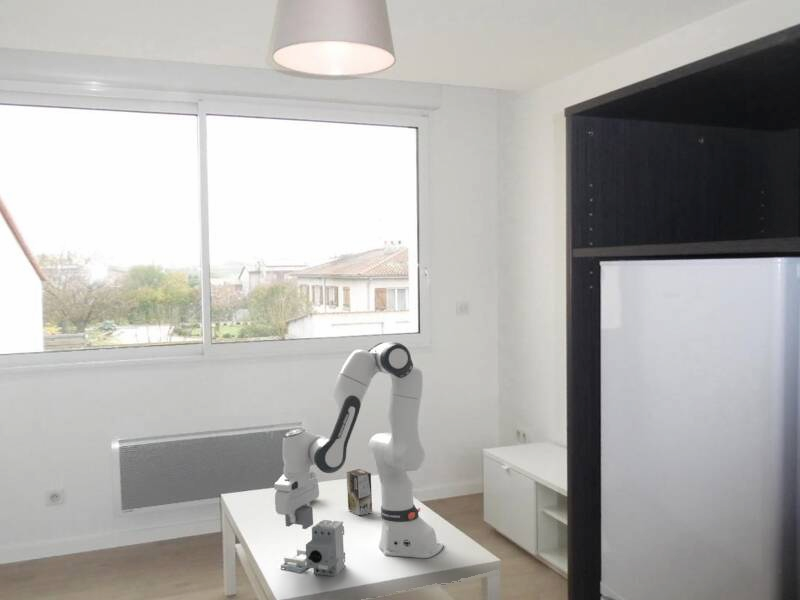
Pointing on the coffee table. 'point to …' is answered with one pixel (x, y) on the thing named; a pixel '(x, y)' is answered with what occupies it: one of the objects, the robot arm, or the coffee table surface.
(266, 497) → the coffee table surface
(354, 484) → the coffee box
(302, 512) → the module
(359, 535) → the coffee table surface
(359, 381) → the robot arm
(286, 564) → the panel
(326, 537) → the circuit breaker
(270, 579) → the coffee table surface
